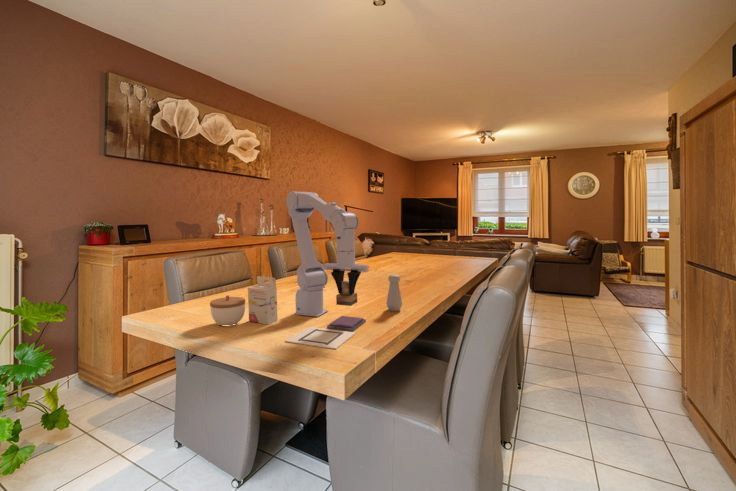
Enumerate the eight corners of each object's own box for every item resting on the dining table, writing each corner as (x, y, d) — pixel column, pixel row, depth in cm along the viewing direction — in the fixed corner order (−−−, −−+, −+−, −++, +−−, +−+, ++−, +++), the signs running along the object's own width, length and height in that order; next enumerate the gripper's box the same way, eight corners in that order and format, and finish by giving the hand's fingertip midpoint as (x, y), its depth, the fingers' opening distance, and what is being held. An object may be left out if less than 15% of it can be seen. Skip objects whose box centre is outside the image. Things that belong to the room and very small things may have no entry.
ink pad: (327, 328, 110) (326, 323, 110) (341, 319, 119) (341, 315, 119) (353, 331, 106) (353, 326, 106) (365, 321, 116) (365, 317, 115)
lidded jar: (252, 319, 119) (251, 292, 118) (233, 330, 109) (232, 300, 108) (224, 318, 122) (223, 291, 121) (203, 327, 111) (202, 298, 110)
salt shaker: (401, 312, 126) (401, 276, 125) (385, 311, 127) (385, 276, 126) (402, 308, 132) (402, 273, 131) (387, 307, 133) (387, 273, 132)
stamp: (336, 304, 111) (335, 282, 110) (343, 300, 115) (342, 279, 115) (350, 305, 109) (350, 283, 108) (357, 302, 114) (356, 280, 113)
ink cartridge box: (248, 321, 117) (246, 278, 116) (258, 317, 121) (256, 275, 120) (268, 325, 113) (266, 280, 112) (278, 320, 118) (276, 277, 116)
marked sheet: (284, 341, 98) (284, 340, 98) (309, 327, 110) (309, 326, 110) (336, 349, 92) (336, 347, 92) (355, 333, 104) (355, 332, 104)
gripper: (371, 250, 111) (372, 292, 113) (331, 248, 117) (331, 289, 118) (363, 252, 105) (363, 297, 106) (320, 251, 110) (321, 293, 112)
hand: (346, 293), depth 112 cm, fingers closed on stamp, 3 cm apart
